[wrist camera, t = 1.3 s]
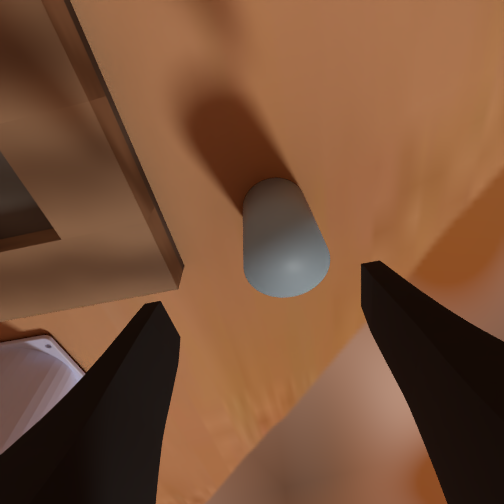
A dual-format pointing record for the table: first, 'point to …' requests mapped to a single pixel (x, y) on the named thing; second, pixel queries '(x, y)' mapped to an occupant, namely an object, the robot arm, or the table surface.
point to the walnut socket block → (69, 176)
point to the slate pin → (281, 240)
